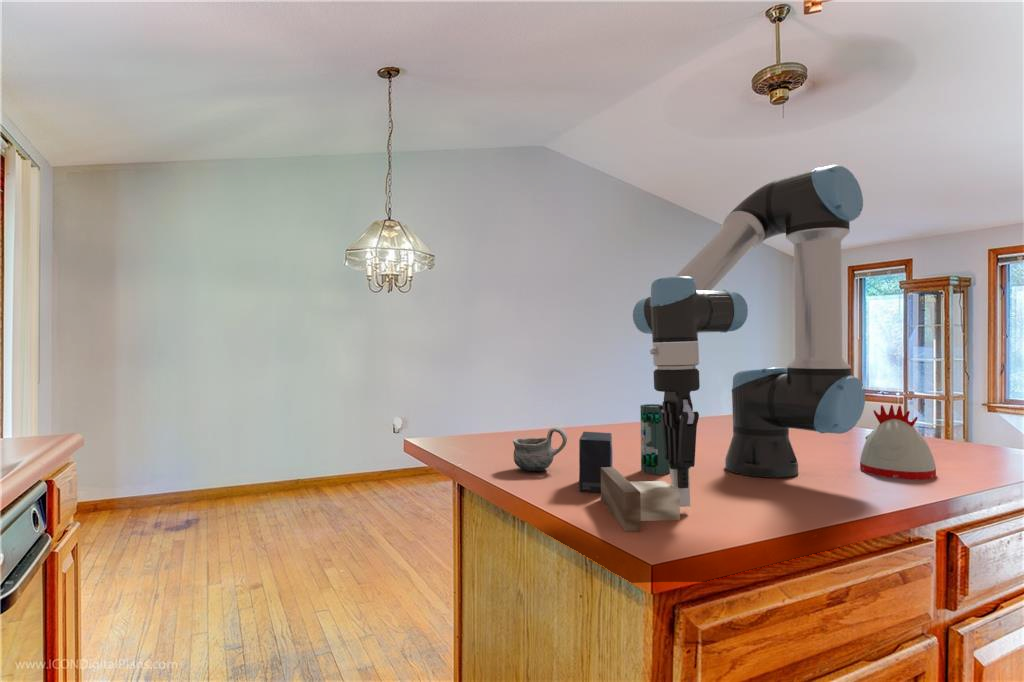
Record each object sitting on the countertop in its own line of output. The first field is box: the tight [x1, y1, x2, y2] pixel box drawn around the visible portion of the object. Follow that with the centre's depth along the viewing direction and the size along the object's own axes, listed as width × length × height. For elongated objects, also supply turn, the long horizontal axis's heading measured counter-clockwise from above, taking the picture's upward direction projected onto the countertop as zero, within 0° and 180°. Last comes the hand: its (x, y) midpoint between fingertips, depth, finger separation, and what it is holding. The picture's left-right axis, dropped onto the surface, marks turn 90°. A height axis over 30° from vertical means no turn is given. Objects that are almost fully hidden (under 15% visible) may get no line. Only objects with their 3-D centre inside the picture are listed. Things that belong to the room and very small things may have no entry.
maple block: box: [629, 480, 681, 522], centre depth 95 cm, size 8×8×4 cm
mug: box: [512, 427, 568, 472], centre depth 129 cm, size 10×12×10 cm
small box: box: [578, 431, 613, 493], centre depth 114 cm, size 11×6×10 cm, turn 168°
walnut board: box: [600, 466, 642, 532], centre depth 95 cm, size 2×18×6 cm, turn 3°
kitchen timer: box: [859, 404, 937, 480], centre depth 124 cm, size 14×14×15 cm
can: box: [639, 403, 671, 476], centre depth 127 cm, size 6×6×15 cm
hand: (681, 505), depth 95 cm, fingers closed
